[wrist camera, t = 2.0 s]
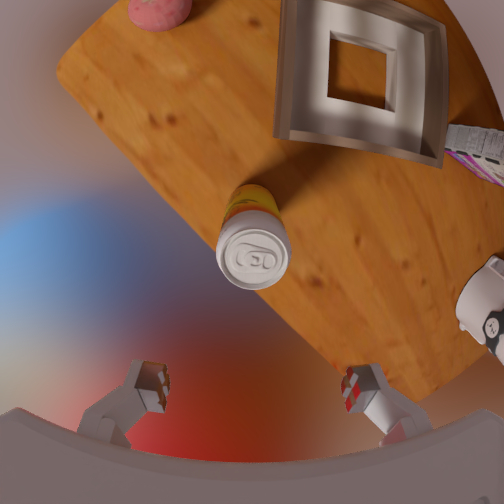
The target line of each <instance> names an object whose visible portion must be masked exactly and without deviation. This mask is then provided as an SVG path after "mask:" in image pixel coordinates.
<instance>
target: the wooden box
mask: <svg viewBox="0 0 504 504" xmlns="http://www.w3.org/2000/svg"><path fill="white" fill-rule="evenodd" d="M330 39H334V40H339V41H343V42H347V43H351V44H355V45H359V46H362V47H366V48H369V49H373V50H376V51H379V52H382V53H385V54H387V70H386V97H385V110H383V109H379V108H375V107H371V106H367V105H363V104H359V103H354V102H349V101H345V100H340V99H334V98H329V97H327V89H328V70H329V42H330ZM448 101H449V67H448V49H447V37H446V29H445V25H443V24H442V23H440V22H438V21H436V20H434V19H432V18H430V17H428V16H426V15H424V14H422V13H420V12H418V11H416V10H414V9H412V8H410V7H407V6H405V5H403V4H400V3H398V2H396V1H393V0H281V11H280V29H279V46H278V63H277V79H276V94H275V109H274V123H273V137H274V138H278V139H285V140H295V141H304V142H313V143H320V144H328V145H334V146H341V147H347V148H353V149H359V150H364V151H369V152H374V153H379V154H384V155H389V156H393V157H398V158H402V159H406V160H410V161H414V162H418V163H422V164H426V165H429V166H433V167H436V168H440V169H442V165H443V158H444V150H445V142H446V132H447V120H448Z"/></svg>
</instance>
